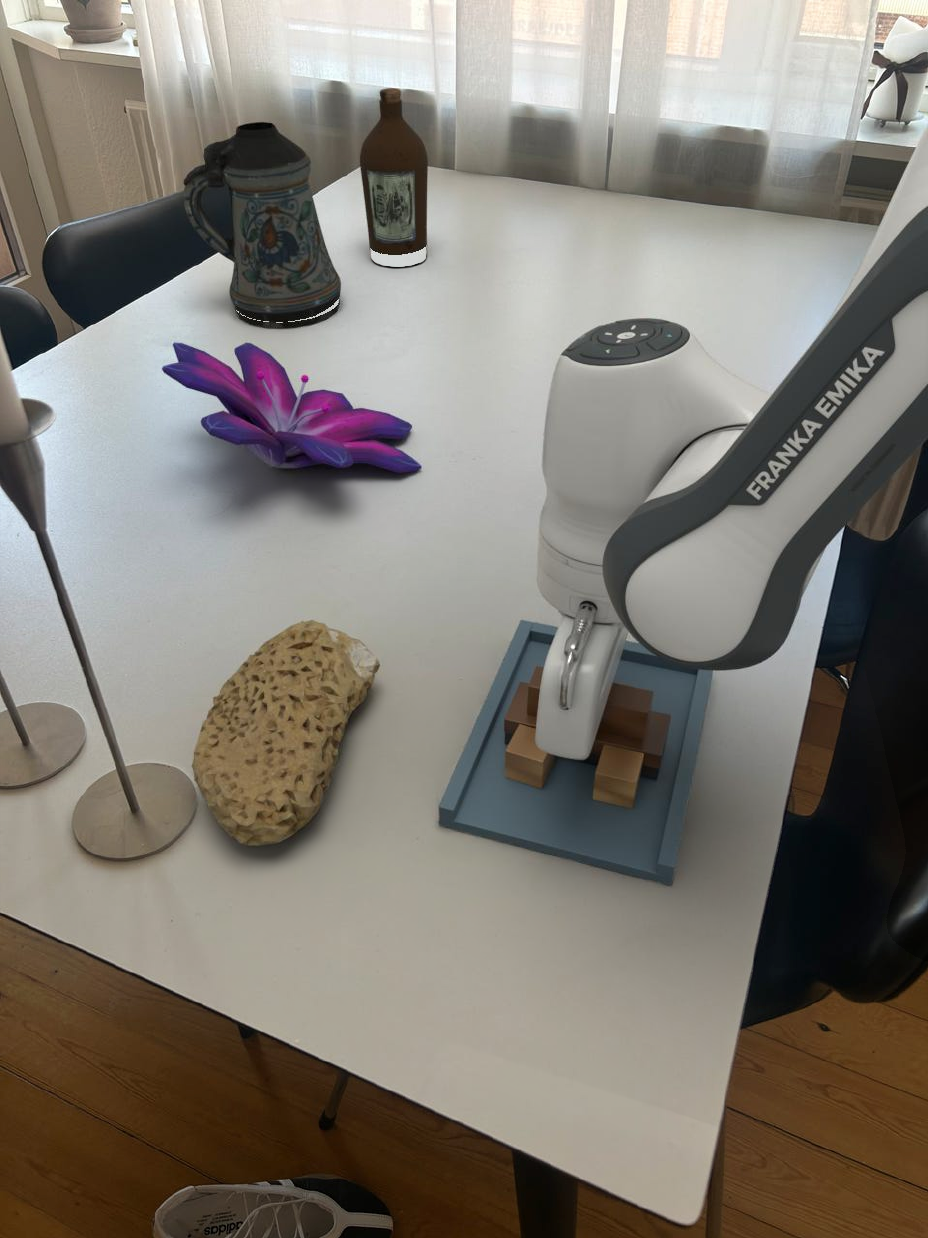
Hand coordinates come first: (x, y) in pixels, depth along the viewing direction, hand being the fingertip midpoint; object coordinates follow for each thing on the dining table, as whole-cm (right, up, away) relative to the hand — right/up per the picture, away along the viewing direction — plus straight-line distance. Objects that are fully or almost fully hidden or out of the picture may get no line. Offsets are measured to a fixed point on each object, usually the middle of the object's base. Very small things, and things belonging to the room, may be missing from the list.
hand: (588, 709), depth 73 cm
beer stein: (-37, +53, +72) cm, 96 cm away
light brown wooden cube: (+2, -5, -2) cm, 5 cm away
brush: (0, -3, +2) cm, 4 cm away
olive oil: (-20, +67, +88) cm, 112 cm away
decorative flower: (-28, +25, +39) cm, 54 cm away
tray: (0, -3, +4) cm, 5 cm away
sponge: (-23, -4, +3) cm, 24 cm away
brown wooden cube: (-4, -4, 0) cm, 6 cm away
